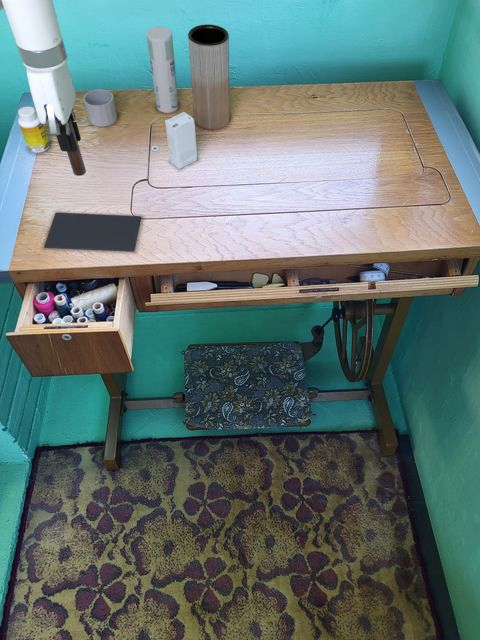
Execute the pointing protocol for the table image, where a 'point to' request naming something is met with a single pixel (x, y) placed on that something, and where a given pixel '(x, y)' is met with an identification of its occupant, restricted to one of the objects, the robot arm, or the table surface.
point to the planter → (210, 75)
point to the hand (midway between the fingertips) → (71, 144)
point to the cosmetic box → (181, 139)
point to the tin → (100, 107)
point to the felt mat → (93, 232)
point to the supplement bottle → (32, 130)
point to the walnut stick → (75, 155)
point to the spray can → (163, 68)
